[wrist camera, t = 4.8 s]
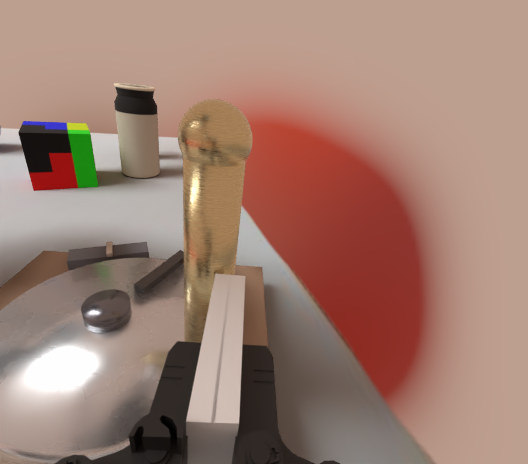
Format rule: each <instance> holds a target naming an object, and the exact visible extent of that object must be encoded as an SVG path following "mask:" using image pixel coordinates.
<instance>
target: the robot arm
mask: <svg viewBox="0 0 528 464" xmlns="http://www.w3.org/2000/svg"><path fill="white" fill-rule="evenodd" d="M244 296H245V276H240V275H227V274H215V278H214V283H213V288H212V293H211V298H210V303H209V308H208V313H207V318H206V323H205V328H204V333H203V339H202V343H199V342H183V341H177V342H176V343H175V345H174V346H173V347H172V348H171V350H170V351H169V352H168V355H167V358H166V361H165V364H164V368H163V371H162V374H161V378H160V380H159V383H158V386H157V390H156V393H155V396H154V399H153V402H152V406H151V409H150V412H149V414H147V415H145V416H143V417H142V418H141V419H140V420H139V421H138V422H137V423H136V424H135V425H134V427H133V429H132V430H131V432H130V434H129V442H130V445H128V446H127V447H126V448H124V449H122V450H120V451H118V452H115V453H112V454H109V455H106V456H103V457H100V458H97V459H94V460H90V459H89V458H88V457H86V456H85V455H71V456H68V457H65V458H62V459H61V460H59V461H58V462H56V463H55V464H314V463H312V462H310V461H307V460H305V459H303V458H301V457H298V456H297V455H295V454H293V453H292V452H291V451H290V450H289V449H288V448H287V447H286V446H285V445H284V443H283V442H282V440H281V437H280V435H279V431H278V425H277V411H276V396H275V385H274V367H273V357H272V355H271V353H270V351H269V349H268V347H267V346H261V345H245V344H242V343H243V319H244ZM320 464H340V463H338V462H335V461H323V462H322V463H320Z"/></svg>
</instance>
